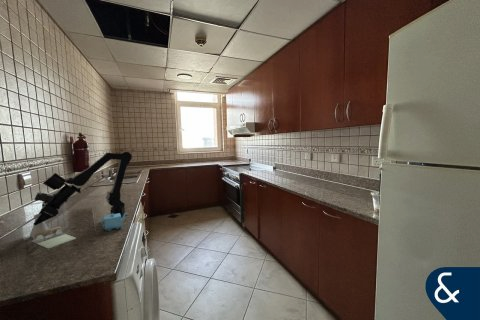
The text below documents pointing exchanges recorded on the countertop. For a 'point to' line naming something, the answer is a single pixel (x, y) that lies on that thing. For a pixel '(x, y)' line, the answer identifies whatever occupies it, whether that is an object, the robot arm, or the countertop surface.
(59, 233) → the cradle
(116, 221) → the teapot
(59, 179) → the robot arm
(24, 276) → the countertop surface
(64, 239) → the pad
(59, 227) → the rod
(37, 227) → the flask
